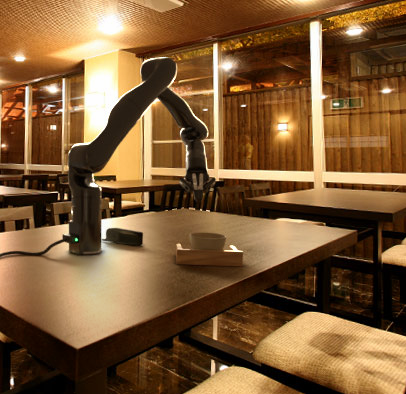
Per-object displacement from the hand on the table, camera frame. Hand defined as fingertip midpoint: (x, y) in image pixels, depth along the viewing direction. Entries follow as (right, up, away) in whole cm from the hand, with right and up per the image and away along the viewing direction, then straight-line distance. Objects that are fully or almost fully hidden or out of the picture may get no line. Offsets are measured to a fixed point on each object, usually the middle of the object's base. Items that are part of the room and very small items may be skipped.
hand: (198, 200), depth 133 cm
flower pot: (-3, -17, -21) cm, 27 cm away
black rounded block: (-26, -15, +2) cm, 30 cm away
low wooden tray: (-3, -17, -22) cm, 28 cm away
